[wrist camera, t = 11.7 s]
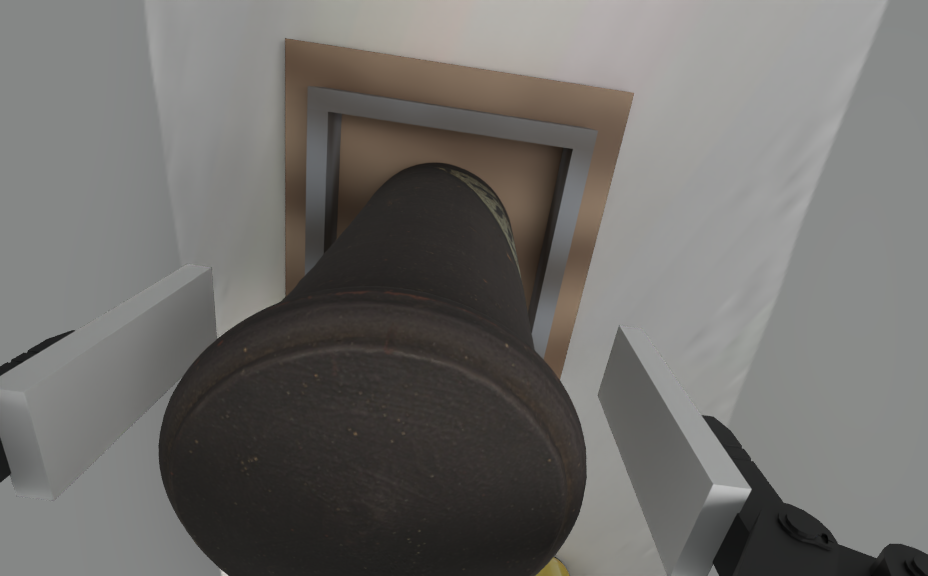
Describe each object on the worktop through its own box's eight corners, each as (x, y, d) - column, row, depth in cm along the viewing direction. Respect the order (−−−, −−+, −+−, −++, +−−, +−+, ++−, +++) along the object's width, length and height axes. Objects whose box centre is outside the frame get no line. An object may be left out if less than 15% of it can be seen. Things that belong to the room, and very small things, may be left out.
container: (489, 318, 29) (512, 703, 11) (348, 278, 29) (114, 619, 10) (537, 185, 26) (687, 408, 8) (380, 135, 25) (122, 251, 7)
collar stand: (293, 40, 25) (264, 32, 21) (627, 93, 25) (651, 92, 22) (292, 338, 32) (270, 368, 28) (555, 375, 32) (565, 408, 29)
